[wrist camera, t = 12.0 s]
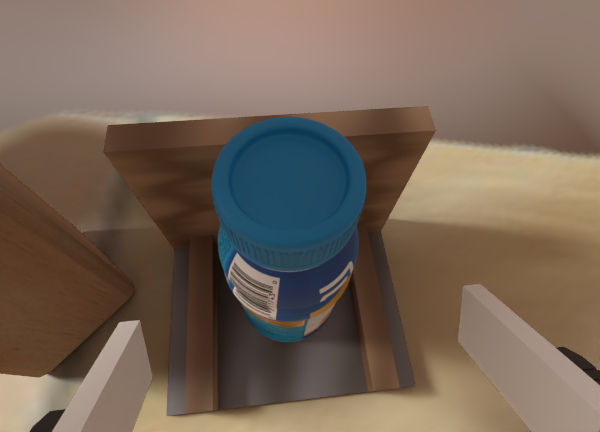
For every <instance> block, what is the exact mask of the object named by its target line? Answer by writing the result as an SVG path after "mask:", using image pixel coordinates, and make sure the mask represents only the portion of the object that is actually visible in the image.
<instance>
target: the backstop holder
mask: <svg viewBox="0 0 600 432" xmlns="http://www.w3.org/2000/svg"><path fill="white" fill-rule="evenodd" d="M277 117H300V118H306V119H310V120H314V121H317V122H320V123H323V124H325V125H327V126H329V127H331V128H333V129H334V130H336V131H337V132H339V133H340V134H341V135H342V136H344V137H345V138H346V139H347V140H348V141H349V142H350V143H351V144H352V146H353V147H354V148H355V150H356V151H357V153H358V155H359V156H360V158H361V161H362V163H363V166H364V170H365V175H366V190H367V191H366V194H365V196H366V198H365V204H364V206H363V210H362V213H361V215H360V218H359V220H358V223H357V229H358V235H359V249H358V256H357V260H356V263H355V266H354V268H353V270H352V274H351V278H350V280H349V283H348V285H347V287H346V289H345V291H344V292H343V294H342V295H341V297H340V298H339V299H338V300H337V302H336V303H335V305H334V307H333V309H332V312H331V314H330V316H329V318H328V320H327V321H326V323H325V324H324V325H323V327H322V328H321V329H320V330H319V331H318V332H316V333H315V334H313V335H312V336H310V337H308V338H306V339H304V340H301V341H296V342H279V341H275V340H272V339H269V338H267V337H265V336H264V335H262V334H261V333H259V332H258V331H257V330H256V329H255V328H254V327H253V326H252V325H251V323H250V322H249V320H248V319H247V317H246V315H245V312H244V310H243V307H242V305H241V303H240V301H239V300H238V299H237V298H236V296H235V295H234V294H233V292H232V290H231V289H230V287H229V285H228V282H227V280H226V277H225V273H224V269H223V267H222V264H221V261H220V257H219V252H218V233H219V228H220V224H221V223H220V221H219V218H218V215H217V213H216V210H215V207H214V204H213V199H212V196H213V195H212V192H211V190H212V187H211V185H212V173H213V168H214V165H215V162H216V160H217V157H218V155H219V154H220V152H221V150H222V149H223V147H224V146H225V145H226V144H227V143H228V141H229V140H230V139H231V138H232V137H234V136H235V135H236V134H237V133H239V132H240V131H241V130H243V129H245V128H246V127H248V126H250V125H252V124H254V123H257V122H260V121H263V120H266V119H271V118H277ZM435 131H436V129H435V126H434V123H433V120H432V118H431V115H430V112H429V109H428V106H423V107H405V108H388V109H371V110H356V111H339V112H321V113H306V114H288V115H271V116H255V117H238V118H222V119H205V120H188V121H172V122H155V123H138V124H122V125H108V128H107V134H106V141H105V147H104V153H105V155H106V156H107V157H108V159H109V160H110V162H111V163H112V164H113V166H114V167H115V168H116V170H117V171H118V172H119V174H120V175H121V177H122V178H123V179H124V181H125V182H126V183H127V185H128V186H129V188H130V189H131V190H132V192H133V193H134V194H135V196H136V197H137V198H138V200H139V201H140V203H141V204H142V205H143V207H144V208H145V209H146V211H147V212H148V214H149V215H150V216H151V218H152V219H153V220H154V222H155V223H156V225H157V226H158V227H159V229H160V230H161V231H162V233H163V234H164V235H165V237H166V238H167V240H168V241H169V242H170V244H171V245H172V246H173V248H174V270H173V291H172V312H171V333H170V354H169V375H168V395H167V416H171V415H180V414H188V413H196V412H205V411H213V410H221V409H230V408H238V407H246V406H255V405H263V404H271V403H280V402H288V401H296V400H304V399H313V398H321V397H329V396H338V395H346V394H354V393H363V392H371V391H379V390H388V389H396V388H404V387H413V386H415V382H414V378H413V373H412V369H411V364H410V360H409V356H408V351H407V347H406V342H405V338H404V333H403V329H402V325H401V320H400V316H399V311H398V307H397V302H396V298H395V293H394V289H393V285H392V280H391V276H390V271H389V267H388V262H387V258H386V253H385V249H384V245H383V240H382V236H381V230H382V228H383V226H384V224H385V222H386V221H387V219H388V217H389V215H390V213H391V211H392V210H393V208H394V206H395V204H396V202H397V200H398V199H399V197H400V195H401V193H402V191H403V190H404V188H405V186H406V184H407V182H408V180H409V179H410V177H411V175H412V173H413V171H414V169H415V168H416V166H417V164H418V162H419V160H420V159H421V157H422V155H423V153H424V151H425V149H426V148H427V146H428V144H429V142H430V140H431V138H432V137H433V135H434V133H435Z"/></svg>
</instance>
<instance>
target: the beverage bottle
mask: <svg viewBox="0 0 600 432" xmlns="http://www.w3.org/2000/svg"><path fill="white" fill-rule="evenodd" d="M211 187H212V190H211V192H212V195H213V196H212V199H213V204H214V207H215V210H216V213H217V215H218V218H219V221H220V223H221V224H220V228H219V233H218V252H219V257H220V261H221V264H222V267H223V269H224V273H225V277H226V280H227V282H228V285H229V287H230V289H231V290H232V292H233V294H234V295H235V296H236V298H237V299H238V300H239V301H240V303H241V305H242V307H243V310H244V312H245V315H246V317H247V319H248V320H249V322H250V323H251V325H252V326H253V327H254V328H255V329H256V330H257V331H258V332H259V333H261V334H262V335H264V336H265V337H267V338H269V339H272V340H275V341H279V342H296V341H301V340H304V339H306V338H308V337H310V336H312V335H313V334H315V333H316V332H318V331H319V330H320V329H321V328H322V327H323V325H324V324H325V323H326V321H327V320H328V318H329V316H330V314H331V312H332V309H333V307H334V305H335V303H336V302H337V300H338V299H339V298H340V297H341V295H342V294H343V292H344V291H345V289H346V287H347V285H348V283H349V280H350V278H351V274H352V270H353V268H354V266H355V263H356V260H357V256H358V249H359V235H358V229H357V223H358V220H359V218H360V215H361V213H362V210H363V206H364V204H365V198H366V196H365V194H366V191H367V190H366V175H365V170H364V166H363V163H362V161H361V158H360V156H359V155H358V153H357V151H356V150H355V148H354V147H353V146H352V144H351V143H350V142H349V141H348V140H347V139H346V138H345V137H344V136H342V135H341V134H340V133H339V132H337V131H336V130H334V129H333V128H331V127H329V126H327V125H325V124H323V123H320V122H317V121H314V120H310V119H306V118H300V117H277V118H271V119H266V120H263V121H260V122H257V123H254V124H252V125H250V126H248V127H246V128H245V129H243V130H241V131H240V132H239V133H237V134H236V135H235V136H234V137H232V138H231V139H230V140H229V141H228V143H227V144H226V145H225V146H224V147H223V149H222V150H221V152H220V154H219V155H218V157H217V160H216V162H215V165H214V168H213V173H212V185H211Z"/></svg>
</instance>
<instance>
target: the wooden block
mask: <svg viewBox="0 0 600 432" xmlns="http://www.w3.org/2000/svg"><path fill="white" fill-rule="evenodd" d="M133 293H134V288H133V285H132V282H131V281H130V280H129V279H128V278H127V277H126V276H125V275H124V274H123V273H122V272H121V271H120V270H119V269H118V268H117V267H116V266H115V265H114V264H113V263H112V262H111V261H110V260H109V259H108V258H107V257H106V256H105V255H104V254H102V253H101V252H100V251H99V250H98V249H97V248H96V247H95V246H94V245H93V244H92V243H91V242H90V241H89V240H88V239H87V238H86V237H85V236H84V235H83V234H82V233H81V232H80V231H79V230H78V229H77V228H76V227H75V226H73V225H72V224H71V223H70V222H69V221H67V220H66V219H65V218H64V217H63V216H61V215H60V214H59V213H58V212H57V211H55V210H54V209H53V208H52V207H51V206H49V205H48V204H47V203H46V202H45V201H44V200H42V199H41V198H40V197H39V196H38V195H36V194H35V193H34V192H33V191H32V190H30V189H29V188H28V187H27V186H26V185H24V184H23V183H22V182H21V181H20V180H18V179H17V178H16V177H15V176H14V175H12V174H11V173H10V172H9V171H8V170H6V169H5V168H4V167H3V166H2V165H0V373H1V374H11V375H21V376H30V377H41V376H43V375H45V374H47V373H49V372H51V371H52V370H53V369H54V368H55V367H56V366H58V365H59V364H60V363H61V362H62V361H63V360H64V359H65V358H66V357H67V356H68V355H69V354H70V353H72V352H73V351H74V350H75V349H76V348H77V347H78V346H79V345H80V344H81V343H82V342H83V341H84V340H86V339H87V338H88V337H89V336H90V335H91V334H92V333H93V332H94V331H95V330H96V329H97V328H98V327H100V326H101V325H102V324H103V323H104V322H105V321H106V320H107V319H108V318H109V317H110V316H111V315H113V314H114V313H115V312H116V311H117V310H118V309H119V308H120V307H121V306H122V305H123V304H124V303H125V302H127V301H128V300H129V299H130V298H131V296H132V295H133Z"/></svg>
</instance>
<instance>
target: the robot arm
mask: <svg viewBox="0 0 600 432" xmlns="http://www.w3.org/2000/svg"><path fill="white" fill-rule="evenodd" d="M458 342H459V343H460V344H461V346H462V347H463V348H464V349H465V351H466V352H467V353H468V354H469V356H470V357H471V358H472V359H473V361H474V362H475V363H476V364H477V366H478V367H479V368H480V369H481V370H482V372H483V373H484V374H485V375H486V377H487V378H488V379H489V380H490V382H491V383H492V384H493V385H494V387H495V388H496V389H497V390H498V392H499V393H500V394H501V395H502V396H503V398H504V399H505V400H506V401H507V403H508V404H509V405H510V406H511V408H512V409H513V410H514V411H515V413H516V414H517V415H518V416H519V417H520V419H521V420H522V421H523V422H524V424H525V425H526V426H527V427H528V429H529V430H530V431H531V432H600V371H599V370H597V369H596V367H595V366H593V365H592V364H591V363H590V362H588V361H587V360H586V359H585V358H583V357H582V356H580V355H579V354H577V353H575V352H573V351H571V350H569V349H567V348H565V347H558V348H555V347H554V346H553V345H552V344H551V343H549V342H548V341H547V340H546V339H545V338H544V337H542V336H541V335H540V334H539V333H538V332H536V331H535V330H534V329H533V328H532V327H531V326H529V325H528V324H527V323H526V322H525V321H524V320H522V319H521V318H520V317H519V316H518V315H516V314H515V313H514V312H513V311H512V310H511V309H509V308H508V307H507V306H506V305H505V304H504V303H502V302H501V301H500V300H499V299H498V298H497V297H495V296H494V295H493V294H492V293H491V292H489V291H488V290H487V289H486V288H485V287H484V286H482V285H481V284H474V285H464V286H463V290H462V301H461V312H460V323H459V333H458ZM152 378H153V376H152V372H151V368H150V363H149V359H148V354H147V350H146V345H145V341H144V336H143V332H142V328H141V323H140V320H135V321H126V322H119V324H118V325H117V327H116V329H115V330H114V332H113V333H112V335H111V337H110V338H109V340H108V342H107V343H106V345H105V346H104V348H103V350H102V351H101V353H100V354H99V356H98V358H97V359H96V361H95V363H94V364H93V366H92V367H91V369H90V371H89V372H88V374H87V376H86V377H85V379H84V380H83V382H82V384H81V385H80V387H79V389H78V390H77V392H76V393H75V395H74V397H73V398H72V400H71V402H70V403H69V405H68V406H67V408H66V409H64V410H56V411H50V412H49V413H48V414H46V415H45V416H44V417H43V418H42V419H41V420H40V421H39V422H38V423H36V424H35V425H34V426H33V427H32V429H31V430H30V432H132V431H133V428H134V426H135V423H136V420H137V418H138V415H139V412H140V410H141V407H142V404H143V402H144V399H145V397H146V394H147V391H148V389H149V386H150V383H151V381H152Z"/></svg>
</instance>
